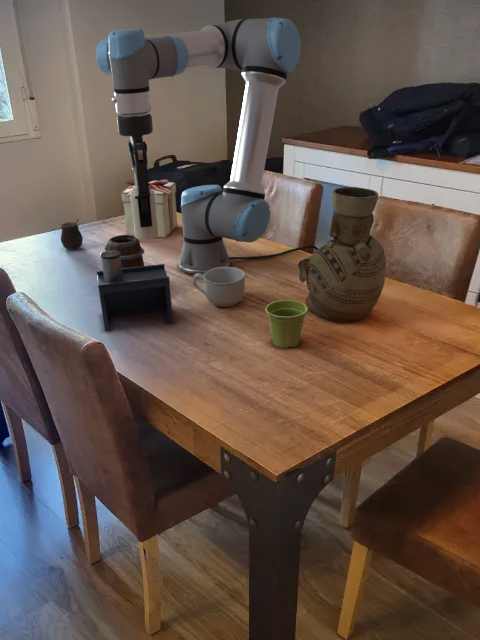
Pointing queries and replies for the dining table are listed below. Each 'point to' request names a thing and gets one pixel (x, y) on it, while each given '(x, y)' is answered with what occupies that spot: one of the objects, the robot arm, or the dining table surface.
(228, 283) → the teacup
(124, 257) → the mug
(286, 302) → the plant pot
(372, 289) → the ceramic vessel
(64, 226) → the mate gourd
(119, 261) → the spice tin
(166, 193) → the gift box
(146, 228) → the oil bottle
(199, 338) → the dining table surface
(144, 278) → the blue channel bracket
